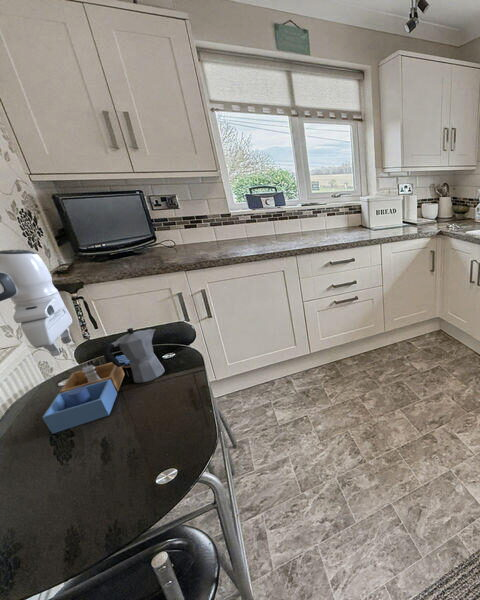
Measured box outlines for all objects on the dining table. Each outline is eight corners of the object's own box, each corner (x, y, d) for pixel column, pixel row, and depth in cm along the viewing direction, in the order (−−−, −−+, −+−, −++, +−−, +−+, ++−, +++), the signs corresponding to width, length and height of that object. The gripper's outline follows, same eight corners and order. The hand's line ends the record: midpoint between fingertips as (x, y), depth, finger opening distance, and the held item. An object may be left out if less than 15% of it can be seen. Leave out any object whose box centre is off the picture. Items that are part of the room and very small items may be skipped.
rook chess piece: (105, 388, 106) (95, 367, 103) (87, 393, 103) (76, 372, 101) (107, 382, 109) (97, 361, 106) (90, 387, 107) (79, 366, 104)
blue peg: (76, 417, 93) (65, 396, 90) (80, 409, 96) (69, 389, 94) (94, 411, 95) (83, 391, 92) (97, 403, 98) (87, 384, 95)
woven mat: (149, 352, 128) (147, 348, 128) (141, 365, 119) (139, 360, 118) (117, 360, 125) (114, 355, 124) (106, 373, 115) (104, 369, 115)
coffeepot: (162, 362, 120) (143, 318, 113) (177, 367, 115) (159, 321, 109) (113, 387, 107) (89, 338, 100) (127, 393, 103) (104, 343, 96)
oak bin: (68, 406, 99) (59, 391, 97) (79, 387, 109) (72, 373, 107) (118, 391, 104) (111, 376, 102) (124, 374, 114) (118, 360, 112)
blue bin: (52, 434, 88) (42, 417, 86) (66, 409, 98) (58, 393, 96) (109, 415, 93) (101, 399, 91) (117, 393, 103) (110, 378, 101)
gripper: (40, 298, 100) (60, 338, 105) (9, 320, 83) (35, 366, 88) (67, 293, 103) (85, 333, 108) (43, 313, 86) (66, 359, 91)
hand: (62, 348), depth 98 cm, fingers open, 8 cm apart
